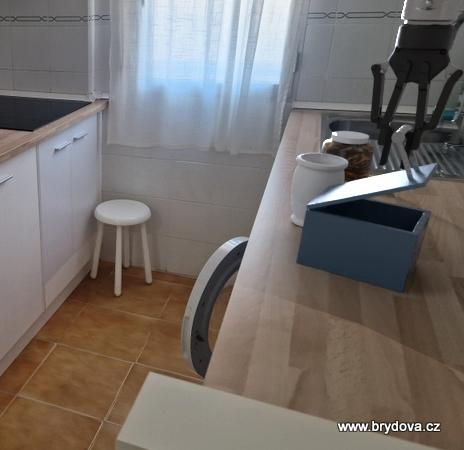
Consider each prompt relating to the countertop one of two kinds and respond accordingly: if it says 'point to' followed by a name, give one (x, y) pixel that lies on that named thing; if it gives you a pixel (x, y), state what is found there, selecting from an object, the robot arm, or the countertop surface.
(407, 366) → the countertop surface
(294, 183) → the jar
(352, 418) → the countertop surface
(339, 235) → the blue lidded box
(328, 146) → the jar
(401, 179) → the lid
